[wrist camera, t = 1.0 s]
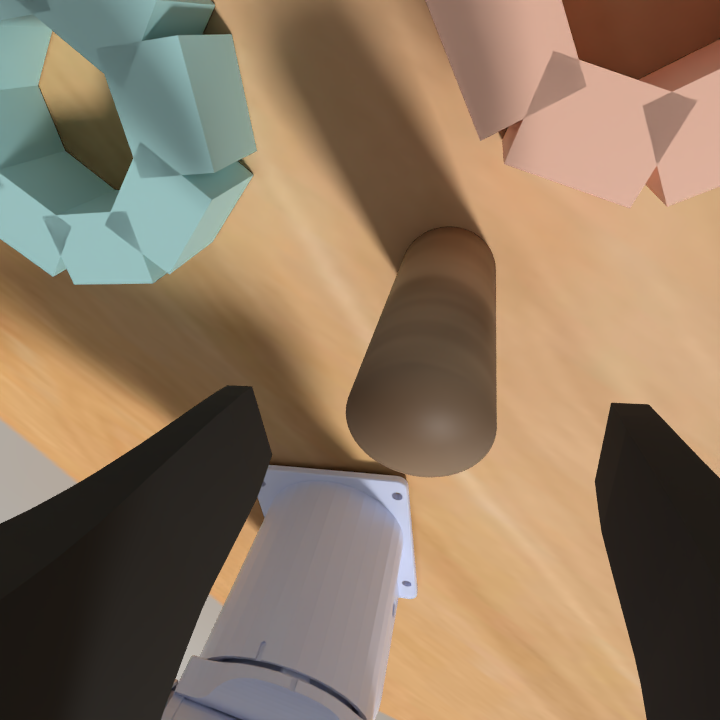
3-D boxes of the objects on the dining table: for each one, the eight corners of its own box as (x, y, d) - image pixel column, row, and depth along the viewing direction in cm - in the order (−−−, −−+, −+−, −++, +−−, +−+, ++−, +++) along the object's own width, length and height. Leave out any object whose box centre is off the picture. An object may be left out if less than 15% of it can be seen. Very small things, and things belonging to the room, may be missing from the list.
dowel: (494, 313, 17) (494, 483, 11) (404, 313, 18) (355, 470, 12) (497, 224, 16) (500, 363, 9) (398, 228, 16) (336, 359, 10)
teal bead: (277, 247, 18) (243, 281, 15) (59, 254, 20) (-1, 285, 18) (198, -120, 12) (126, -157, 10) (-85, -50, 15) (-198, -65, 12)
